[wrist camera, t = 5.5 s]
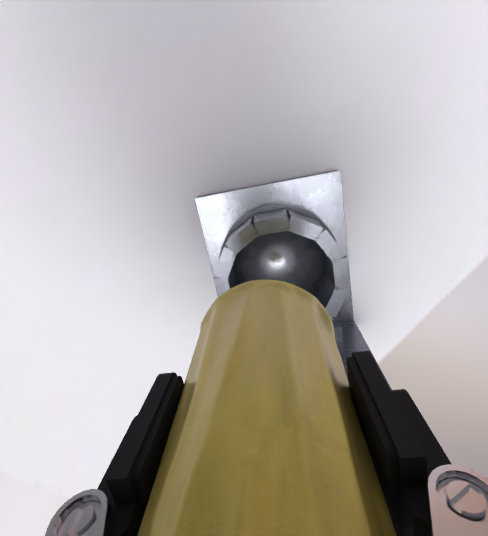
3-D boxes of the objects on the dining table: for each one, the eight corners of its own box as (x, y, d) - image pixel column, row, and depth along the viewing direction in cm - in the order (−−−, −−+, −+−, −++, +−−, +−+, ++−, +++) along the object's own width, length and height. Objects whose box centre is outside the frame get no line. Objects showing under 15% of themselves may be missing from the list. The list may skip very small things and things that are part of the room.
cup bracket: (197, 197, 27) (151, 226, 16) (337, 170, 26) (393, 181, 15) (231, 344, 32) (215, 445, 21) (351, 327, 31) (402, 427, 20)
